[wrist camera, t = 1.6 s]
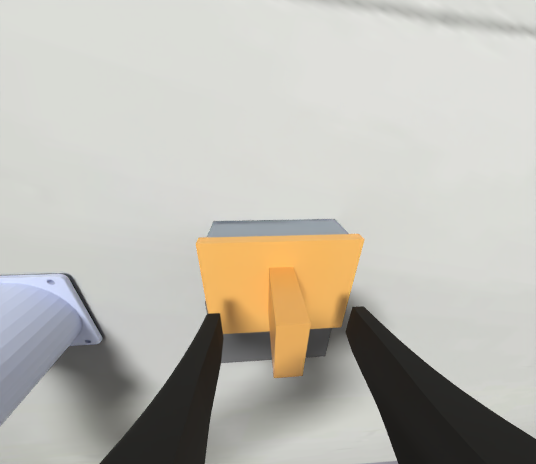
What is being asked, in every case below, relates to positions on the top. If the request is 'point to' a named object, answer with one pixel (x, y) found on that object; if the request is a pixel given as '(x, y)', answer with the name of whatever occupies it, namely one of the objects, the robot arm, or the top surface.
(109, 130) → the top surface
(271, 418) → the top surface
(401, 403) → the robot arm
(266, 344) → the mat
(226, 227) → the tub
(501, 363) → the top surface
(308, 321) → the lid
